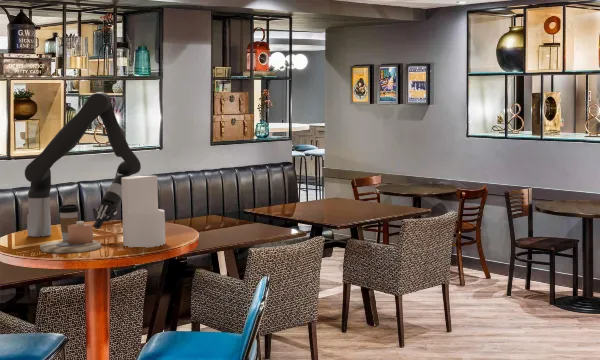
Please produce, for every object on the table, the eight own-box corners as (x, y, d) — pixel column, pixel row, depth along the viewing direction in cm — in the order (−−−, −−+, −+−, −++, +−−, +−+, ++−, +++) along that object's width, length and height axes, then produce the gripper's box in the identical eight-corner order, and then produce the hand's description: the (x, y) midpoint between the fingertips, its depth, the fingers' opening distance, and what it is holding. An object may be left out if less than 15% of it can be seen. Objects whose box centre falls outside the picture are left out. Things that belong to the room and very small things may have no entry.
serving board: (27, 251, 332) (27, 248, 332) (61, 242, 355) (61, 238, 355) (80, 254, 325) (80, 250, 325) (111, 244, 348) (111, 240, 348)
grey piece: (114, 245, 346) (112, 178, 343) (144, 239, 360) (142, 175, 357) (144, 249, 336) (142, 180, 333) (174, 242, 350) (172, 176, 348)
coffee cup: (83, 238, 363) (82, 204, 362) (72, 242, 355) (70, 207, 354) (67, 238, 366) (65, 204, 364) (55, 241, 358) (54, 206, 356)
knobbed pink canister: (63, 243, 342) (62, 222, 341) (76, 239, 351) (76, 219, 350) (84, 244, 339) (84, 223, 338) (97, 240, 348) (97, 220, 348)
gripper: (97, 190, 363) (79, 221, 353) (121, 190, 357) (104, 223, 347) (106, 200, 368) (88, 232, 359) (130, 201, 362) (112, 233, 353)
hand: (96, 227), depth 353 cm, fingers closed
